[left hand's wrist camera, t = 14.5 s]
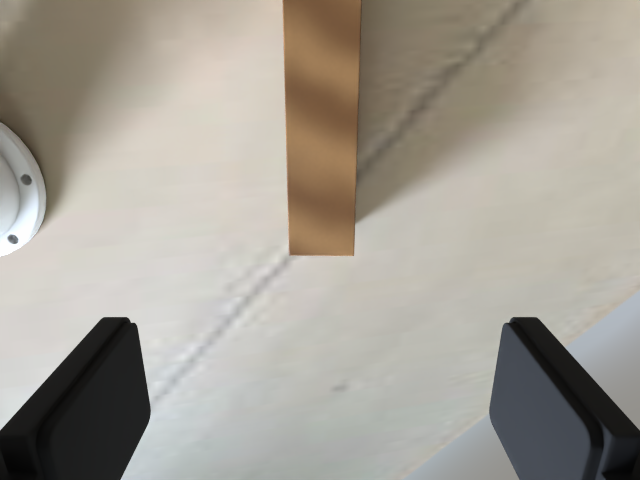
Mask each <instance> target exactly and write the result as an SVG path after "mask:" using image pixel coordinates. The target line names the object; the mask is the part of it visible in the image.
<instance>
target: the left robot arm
mask: <svg viewBox="0 0 640 480" xmlns="http://www.w3.org/2000/svg"><path fill="white" fill-rule="evenodd" d="M45 210H46V190H45V184H44V179H43V177H42V174H41V171H40V169H39V166H38V164H37V162H36V161H35V159H34V157H33V155H32V154H31V152H30V150H29V149H28V148H27V147H26V145H25V144H24V143H23V142H22V140H21V139H20V138H19V137H18V136H17V135H16V134H15V133H14V132H12V131H11V130H10V129H9V128H8V127H7V126H6V125H4V124H3V123H1V122H0V256H3V255H7V254H9V253H11V252H13V251H15V250H17V249H19V248H20V247H22V246H23V245H24V244H26V243H27V242H29V241H30V240H31V238H32V237H33V236H34V235H35V234H36V233H37V231H38V229H39V227H40V225H41V223H42V221H43V218H44V214H45ZM150 413H151V409H150V402H149V396H148V389H147V383H146V377H145V371H144V365H143V358H142V352H141V346H140V340H139V334H138V328H137V325H136V324H135V323H131V322H130V320H129V318H127V317H104V318H102V319H101V320H100V321H99V322H98V323H97V324H96V325H95V327H94V328H93V329H92V330H91V331H90V332H89V333H88V334H87V335H86V336H85V338H84V339H83V340H82V341H81V342H80V343H79V344H78V345H77V346H76V348H75V349H74V350H73V351H72V352H71V353H70V354H69V355H68V356H67V357H66V359H65V360H64V361H63V362H62V363H61V364H60V365H59V366H58V367H57V368H56V370H55V371H54V372H53V373H52V374H51V375H50V376H49V377H48V378H47V380H46V381H45V382H44V383H43V384H42V385H41V386H40V387H39V388H38V389H37V391H36V392H35V393H34V394H33V395H32V396H31V397H30V398H29V399H28V401H27V402H26V403H25V404H24V405H23V406H22V407H21V408H20V409H19V410H18V412H17V413H16V414H15V415H14V416H13V417H12V418H11V419H10V420H9V422H8V423H7V424H6V425H5V426H4V427H3V428H2V429H1V430H0V480H120V479H121V477H122V475H123V473H124V471H125V469H126V467H127V465H128V463H129V461H130V459H131V457H132V455H133V453H134V451H135V449H136V447H137V445H138V443H139V441H140V439H141V437H142V435H143V433H144V431H145V429H146V427H147V425H148V423H149V419H150ZM489 413H490V419H491V423H492V425H493V427H494V429H495V431H496V433H497V435H498V437H499V439H500V441H501V443H502V445H503V447H504V449H505V451H506V453H507V455H508V457H509V459H510V461H511V463H512V465H513V467H514V469H515V471H516V473H517V475H518V477H519V479H520V480H640V430H639V429H638V428H637V427H636V426H635V425H634V424H633V423H632V422H631V420H630V419H629V418H628V417H627V416H626V415H625V414H624V413H623V412H622V410H621V409H620V408H619V407H618V406H617V405H616V404H615V403H614V402H613V401H612V399H611V398H610V397H609V396H608V395H607V394H606V393H605V392H604V391H603V389H602V388H601V387H600V386H599V385H598V384H597V383H596V382H595V381H594V380H593V378H592V377H591V376H590V375H589V374H588V373H587V372H586V371H585V370H584V368H583V367H582V366H581V365H580V364H579V363H578V362H577V361H576V360H575V359H574V357H573V356H572V355H571V354H570V353H569V352H568V351H567V350H566V349H565V348H564V346H563V345H562V344H561V343H560V342H559V341H558V340H557V339H556V338H555V336H554V335H553V334H552V333H551V332H550V331H549V330H548V329H547V328H546V327H545V325H544V324H543V323H542V322H541V321H540V320H539V319H538V318H536V317H513V318H511V320H510V322H509V323H505V324H504V325H503V328H502V334H501V340H500V346H499V352H498V358H497V365H496V371H495V377H494V383H493V389H492V396H491V402H490V409H489Z"/></svg>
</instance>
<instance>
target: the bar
mask: <svg viewBox="0 0 640 480" xmlns="http://www.w3.org/2000/svg"><path fill="white" fill-rule="evenodd" d="M361 6H362V0H283V32H284V73H285V113H286V154H287V195H288V236H289V256H354V239H355V206H356V172H357V139H358V106H359V72H360V39H361Z"/></svg>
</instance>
